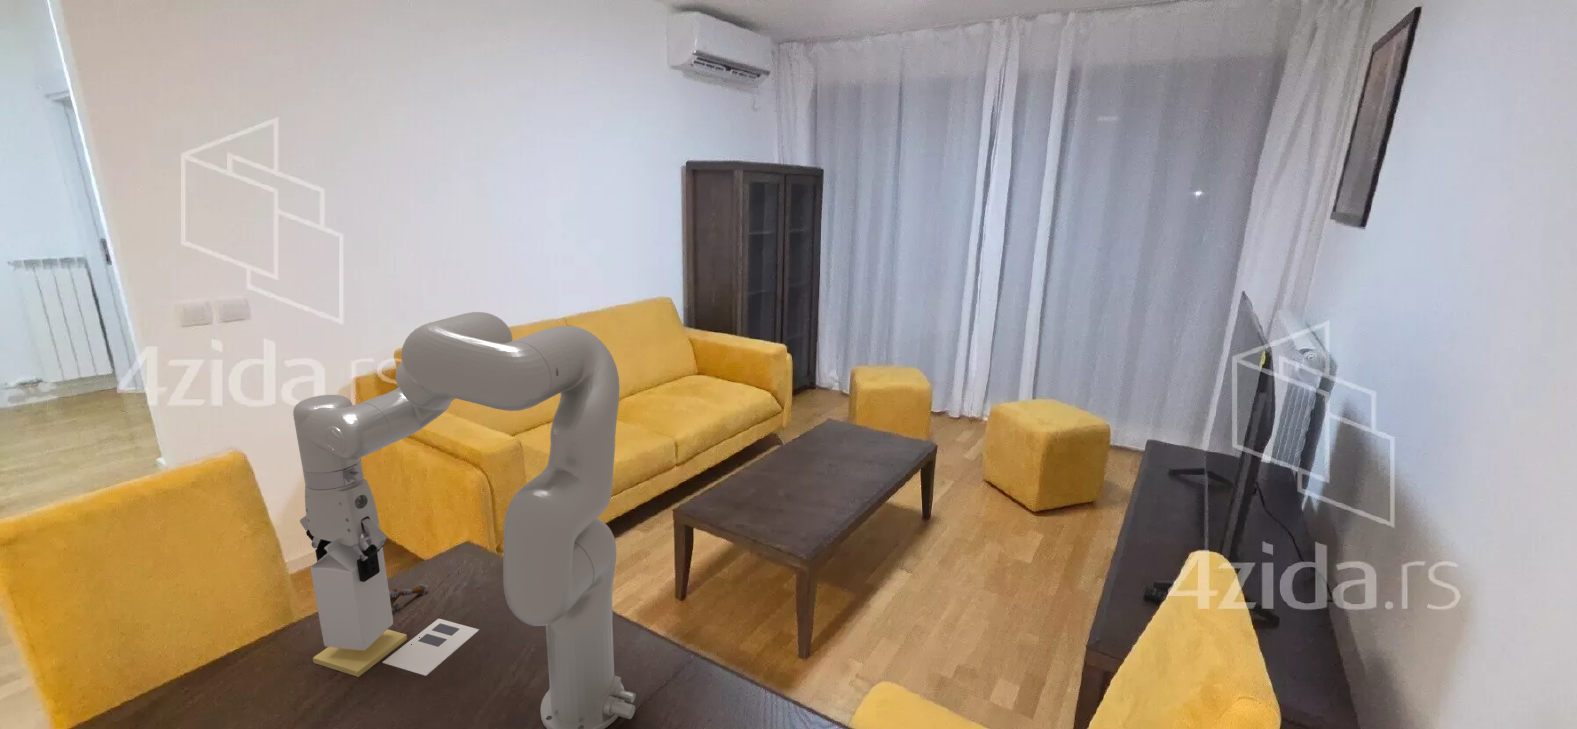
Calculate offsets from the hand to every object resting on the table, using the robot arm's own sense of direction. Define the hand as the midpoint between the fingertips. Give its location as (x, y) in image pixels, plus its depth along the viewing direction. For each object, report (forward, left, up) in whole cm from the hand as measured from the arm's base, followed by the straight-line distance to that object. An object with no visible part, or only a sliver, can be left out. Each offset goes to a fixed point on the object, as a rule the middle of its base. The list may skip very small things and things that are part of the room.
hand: (349, 571), depth 107 cm
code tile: (-10, -5, -16) cm, 19 cm away
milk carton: (0, 0, -13) cm, 13 cm away
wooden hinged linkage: (+3, -13, -16) cm, 21 cm away
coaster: (0, 0, -16) cm, 16 cm away
